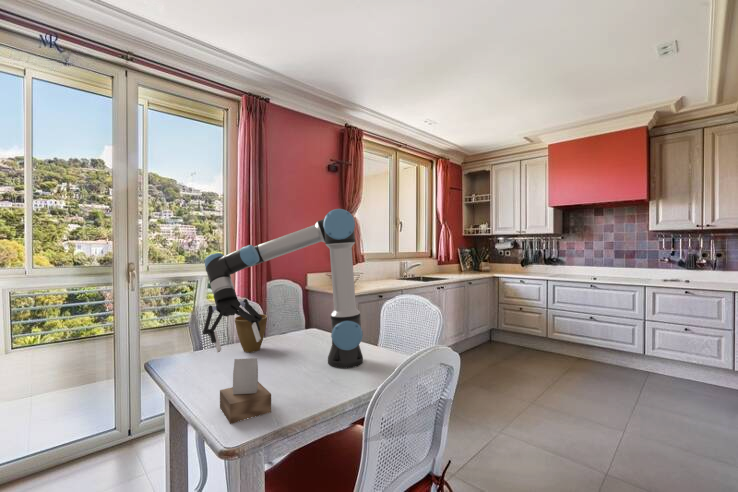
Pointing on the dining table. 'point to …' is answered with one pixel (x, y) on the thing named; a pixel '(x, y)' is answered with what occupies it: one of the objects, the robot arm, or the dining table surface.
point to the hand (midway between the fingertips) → (239, 345)
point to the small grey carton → (245, 376)
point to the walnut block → (244, 404)
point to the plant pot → (250, 333)
